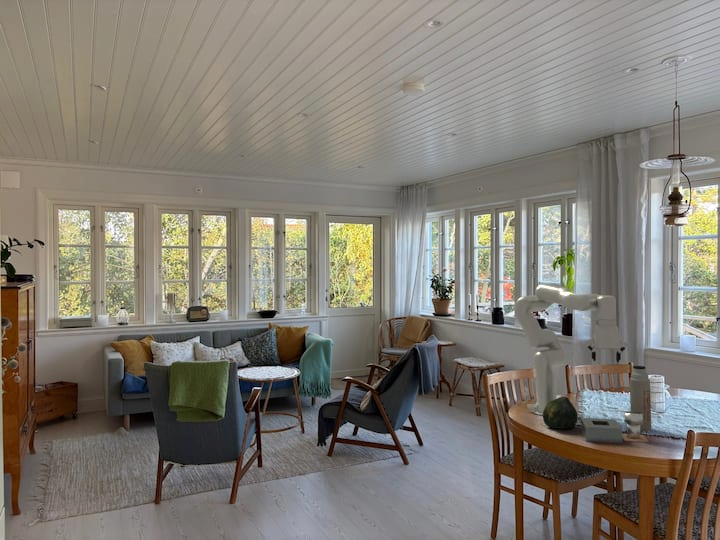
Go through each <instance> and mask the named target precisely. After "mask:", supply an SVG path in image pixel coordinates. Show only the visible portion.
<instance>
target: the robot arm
mask: <svg viewBox="0 0 720 540" xmlns="http://www.w3.org/2000/svg"><path fill="white" fill-rule="evenodd" d="M534 292H535V294H534V295H524V296H521V297H519V298H518V299H517V300H516V301H515V303H514V315H515V317H516V319H517V320H518V322H519V324H520V326H521V329H522V331H523V333H524V336H525V338H526V340H527V342H528V345H529V346H530V347H531V348H532V349H534V350H535V349H536V350H537V349H542V350H539V351H537V352H535V354H534V355H533V364H534V365H533V367H534V370H535V371H534V372H535V383H536V384H535V386H536V402H535V403H533V404H530V403H529V404H528V403H526V405H527V409H529V410H533V413H534V414H535V415H537V414H538V416H542V415H543V411H544V409H545V406H546V405H547V403H549V402H551V401H553V400H555V399H557V397H558V396H557V378H556V377H557V376H556V373H555V372H554V368H555V369H556V368H560V367H562V366H563V365H565V364H566V361H567V358H566V356H567V355H566V353H565V350H564V349H563V347H562V344H561V342H560V340H559V338H558V335H557V334H556V332H554V331H553V330H552V329H549V328H542V327H541V326H540V323H539V321H538V319H537V318H536V317H535V316H534V315H533V314H532V313H534V312H535V313H536V312H537V313H538V312H543V311H545V310H547V309H548V308H550V307H551V306H553V304H557V305H561V306H563V307H565V308H566V309H570V310H575V311H578V312H587V311H588V312H589V311H591V312H592V311H597V312H596V316H597V317H596V319H594V320H593V324H596V325H595V327H594V331H593V337H592V338H591V339H588V340H586V341H584V343H585V345H586V347H587V348H588V349H589V350H590V352H591V360H593V362H596V360H597V359H596V358H597V356H596V355H597V352H596V351H597V349H600V350H616V353H615V361H616V363H620V361H621V360H622V359H621V356H622V355H621V354H622V353H623V351H625V350H626V348H627V346H628V343H627V342H625V341H623V340H622V339H620V334H619V333H620V332H619V327H618V326H616V321H617V320H616V311H617V310H616V309H617V306H616V305H617V302H616V301H617V299H616V297H615V296H613V295H601V294H597V293H588V294H587V293H586V294H578V293H575V292H571V291H570V288H568V287H564V286H561V285H560V284H558V283H555V282H554V283H551V282H549V283H541V284H539V285H538V286H536V288H535V291H534ZM591 343H593V347H592V346H591V345H590V344H591ZM621 344H622V346H621V347H620V345H621Z"/></svg>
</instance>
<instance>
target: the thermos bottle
mask: <svg viewBox="0 0 720 540" xmlns="http://www.w3.org/2000/svg"><path fill="white" fill-rule="evenodd" d="M632 370H633V371H632V372H631V373H630V376H631V377H630V378H629V399H630V400H629V402H630V403H629V404H630V411H636V412H640V413H642V414H643V424H642V425H640V431H644V432H643V433H646V432H647V431H649V432H651V431H652V411H651V408H652V405H651V401H652V400H651V380H650V378H649V374H648V373H647V371H646V366H643V365H633V366H632ZM647 433H648V432H647Z"/></svg>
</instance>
